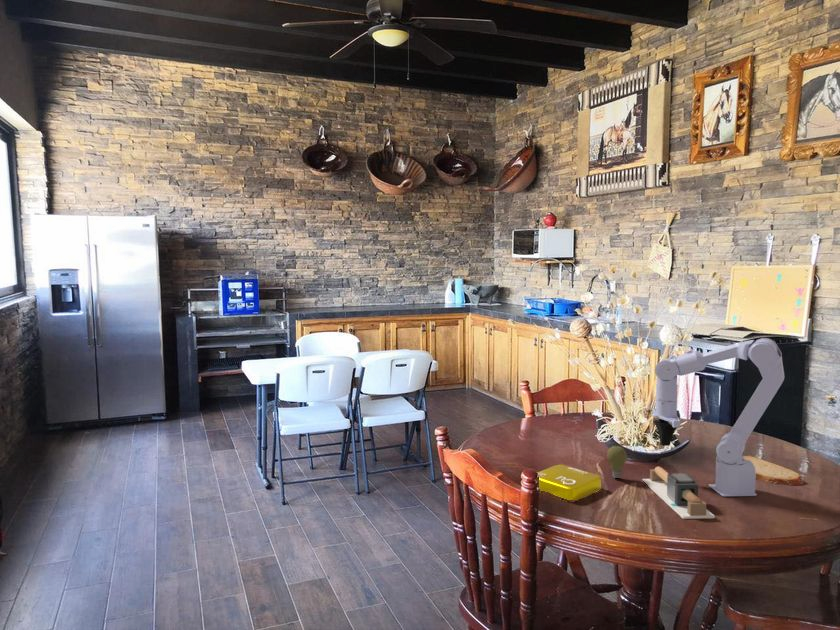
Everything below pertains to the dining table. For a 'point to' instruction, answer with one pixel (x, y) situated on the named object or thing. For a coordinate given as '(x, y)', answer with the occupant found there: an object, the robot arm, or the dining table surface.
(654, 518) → the dining table surface
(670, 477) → the sleeve
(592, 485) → the element tile
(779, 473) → the slice of bread
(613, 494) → the dining table surface
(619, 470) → the light bulb
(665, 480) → the pipe rig
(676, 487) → the grey square frame
